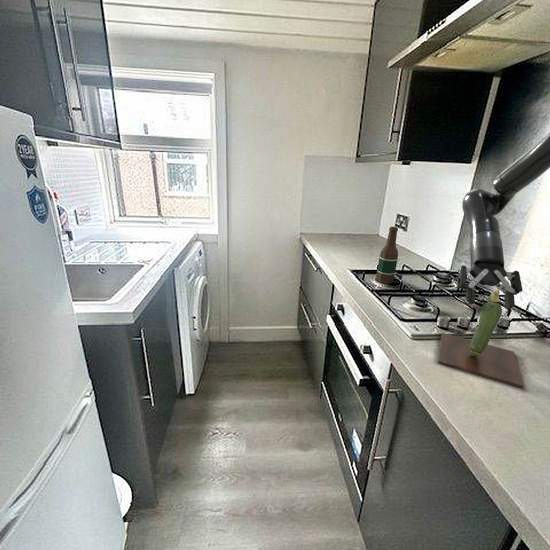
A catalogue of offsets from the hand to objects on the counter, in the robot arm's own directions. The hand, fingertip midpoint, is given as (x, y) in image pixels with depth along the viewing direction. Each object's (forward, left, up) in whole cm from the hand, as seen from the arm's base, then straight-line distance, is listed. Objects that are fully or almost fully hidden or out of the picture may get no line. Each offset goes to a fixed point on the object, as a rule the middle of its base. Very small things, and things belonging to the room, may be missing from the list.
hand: (490, 305), depth 78 cm
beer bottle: (+33, -42, -15) cm, 56 cm away
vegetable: (0, +1, -15) cm, 15 cm away
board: (0, +2, -15) cm, 15 cm away
